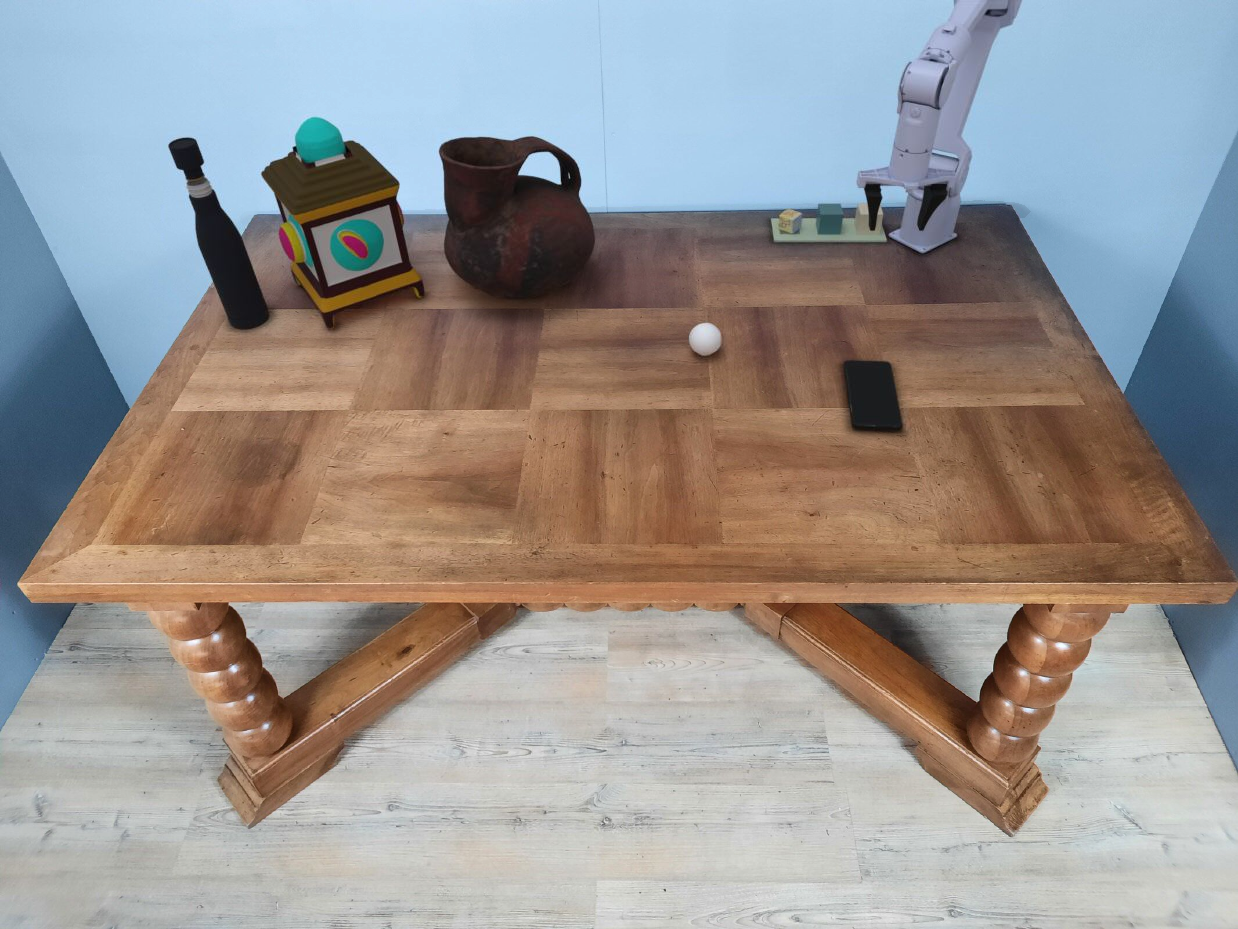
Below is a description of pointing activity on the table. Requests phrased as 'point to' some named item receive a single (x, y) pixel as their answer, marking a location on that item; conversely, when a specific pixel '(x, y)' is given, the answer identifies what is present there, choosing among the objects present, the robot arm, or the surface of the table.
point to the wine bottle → (220, 243)
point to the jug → (512, 217)
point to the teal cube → (829, 219)
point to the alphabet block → (790, 221)
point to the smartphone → (872, 395)
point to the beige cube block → (866, 220)
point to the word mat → (811, 235)
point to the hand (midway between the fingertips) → (895, 227)
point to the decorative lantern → (340, 221)
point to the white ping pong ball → (705, 339)
